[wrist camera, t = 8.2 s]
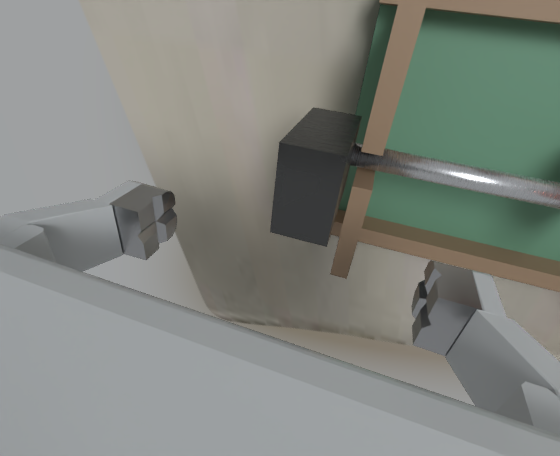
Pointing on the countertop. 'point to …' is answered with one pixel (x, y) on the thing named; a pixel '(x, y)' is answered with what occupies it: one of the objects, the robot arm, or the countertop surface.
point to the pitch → (459, 135)
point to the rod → (346, 152)
